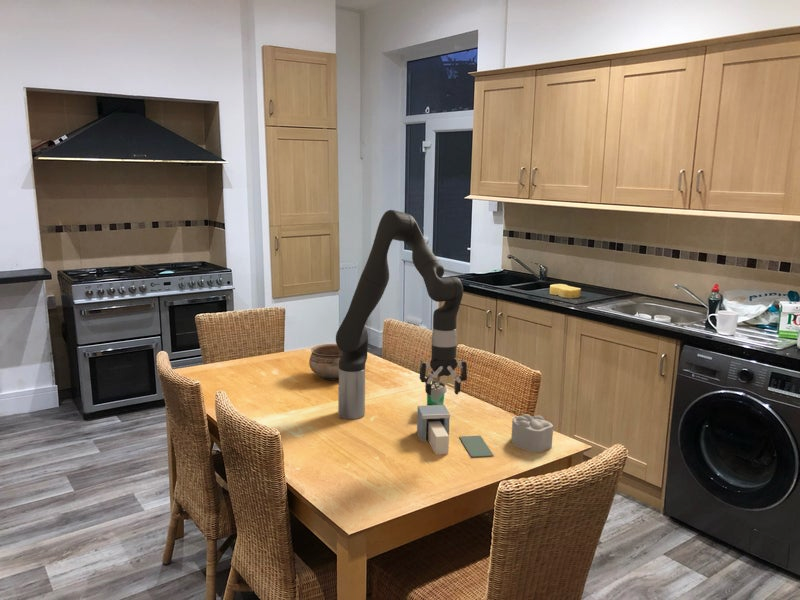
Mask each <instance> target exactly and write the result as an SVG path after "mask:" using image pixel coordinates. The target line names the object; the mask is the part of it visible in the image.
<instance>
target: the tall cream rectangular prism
mask: <svg viewBox="0 0 800 600" xmlns="http://www.w3.org/2000/svg"><path fill="white" fill-rule="evenodd" d="M427 440H428V443H429V444H430V446H431V449H432V450H433V452H434V455H449V447H450V446H449V443H450V434H449V435H448V434H447V432H446V430H445V429H444V427H443V425H442V423H441V422H440V421H433V422H428V432H427Z"/></svg>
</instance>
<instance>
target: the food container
mask: <svg viewBox="0 0 800 600" xmlns="http://www.w3.org/2000/svg"><path fill="white" fill-rule="evenodd" d="M446 393H447V386H446V384H445V383H444V382H443V381H440V380H438V379H433V380H432V382H431V395H429V396H428V394H427V393H426V405H444V402H445V394H446Z"/></svg>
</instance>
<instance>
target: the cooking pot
mask: <svg viewBox="0 0 800 600" xmlns="http://www.w3.org/2000/svg"><path fill="white" fill-rule="evenodd" d="M310 352H311V354H310V357H309V359H308V364H309V365H308V366H309V367H310V370H311V371H312V372H313V373H314V374H315V375H317V376H318V377H320V378H323V379H324V380H326V381H337V380H338V381H339V360H340V358H341V356H342V353H343V351H341V350H340V349H339V348H338V346H337V344H336V343H325V344H319V345H315V346H313V347H311V348H310Z"/></svg>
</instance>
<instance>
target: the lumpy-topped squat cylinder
mask: <svg viewBox="0 0 800 600" xmlns="http://www.w3.org/2000/svg"><path fill="white" fill-rule="evenodd" d="M553 435H554V425H553V424H552V423H551V422H550V421H547V420H545V418H544V417H543V416H542V415H540V414H539V415H535V416H534V415H532V416H531V415H530V414H529V413H525V414H523V415H516V416H513V418H512V421H511V437H510V438H511V439H510V440H511V443H512V444H513V445H514V446H515V447H517V448H520V449H521V450H524V451H527V452H529V453H535V454H536V453H542V452H544V451H546V450H550V449H551V448H552V447H553Z"/></svg>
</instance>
